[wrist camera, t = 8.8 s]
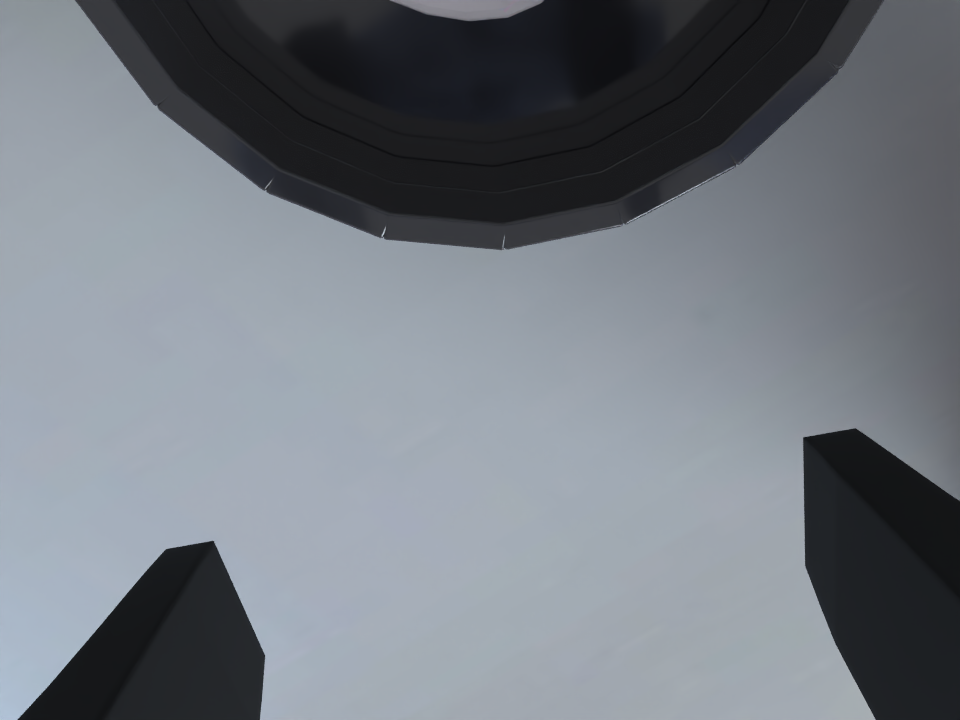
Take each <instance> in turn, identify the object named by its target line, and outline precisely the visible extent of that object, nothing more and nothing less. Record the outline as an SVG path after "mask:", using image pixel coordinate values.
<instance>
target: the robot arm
mask: <svg viewBox="0 0 960 720" xmlns="http://www.w3.org/2000/svg"><path fill="white" fill-rule="evenodd" d="M803 451H804V514H805V566H806V569H807V572H808V574H809V577H810V580H811V582H812V585H813V588H814V590H815V593H816V596H817V598H818V601H819V604H820V606H821V609H822V611H823V614H824V616H825V619H826V621H827V624H828V626H829V629H830V631H831V634H832V636H833V639H834V641H835V643H836V645H837V647H838V649H839V651H840V653H841V655H842V657H843V659H844V661H845V663H846V665H847V666H848V668H849V670H850V672H851V674H852V676H853V678H854V680H855V681H856V683H857V685H858V687H859V689H860V691H861V693H862V695H863V697H864V698H865V700H866V702H867V704H868V706H869V708H870V710H871V711H872V713H873V715H874V717H875V719H876V720H960V501H959V500H957V499H956V498H954V497H953V496H951V495H950V494H948V493H947V492H945V491H944V490H943V489H941V488H940V487H938V486H937V485H935V484H934V483H933V482H931V481H930V480H928V479H927V478H925V477H924V476H923V475H921V474H920V473H918V472H917V471H916V470H914V469H913V468H911V467H910V466H908V465H907V464H906V463H904V462H903V461H901V460H900V459H899V458H897V457H896V456H894V455H893V454H892V453H890V452H889V451H887V450H886V449H884V448H883V447H882V446H880V445H879V444H877V443H876V442H875V441H873V440H872V439H870V438H869V437H868V436H866V435H865V434H863V433H862V432H860V431H859V430H857V429H856V428H855V429H849V430H843V431H838V432H832V433H826V434H821V435H815V436H809V437H803ZM264 663H265V655H264V652H263V650H262V648H261V646H260V643H259V641H258V639H257V637H256V634H255V632H254V630H253V628H252V626H251V623H250V621H249V619H248V617H247V614H246V612H245V610H244V608H243V605H242V603H241V601H240V599H239V597H238V594H237V592H236V590H235V588H234V585H233V583H232V581H231V579H230V576H229V574H228V572H227V570H226V568H225V565H224V563H223V561H222V559H221V556H220V554H219V552H218V550H217V547H216V545H215V543H214V541H210V542H204V543H199V544H193V545H187V546H182V547H176V548H170V549H166V550H165V551H164V552H163V553H162V554H161V555H160V556H159V558H158V559H157V560H156V561H155V562H154V563H153V564H152V565H151V566H150V568H149V569H148V570H147V571H146V572H145V573H144V574H143V576H142V577H141V578H140V579H139V580H138V581H137V583H136V584H135V585H134V586H133V587H132V589H131V590H130V591H129V592H128V593H127V595H126V596H125V597H124V598H123V599H122V600H121V602H120V603H119V604H118V605H117V606H116V608H115V609H114V610H113V611H112V612H111V614H110V615H109V616H108V617H107V618H106V620H105V621H104V622H103V623H102V624H101V626H100V627H99V628H98V629H97V630H96V631H95V633H94V634H93V635H92V636H91V637H90V638H89V640H88V641H87V642H86V643H85V644H84V645H83V647H82V648H81V649H80V650H79V651H78V652H77V654H76V655H75V656H74V657H73V658H72V659H71V661H70V662H69V663H68V664H67V665H66V666H65V668H64V669H63V670H62V671H61V672H60V673H59V675H58V676H57V677H56V678H55V679H54V680H53V682H52V683H51V684H50V685H49V686H48V687H47V688H46V690H45V691H44V692H43V693H42V694H41V695H40V696H39V697H38V698H37V699H36V700H35V701H34V702H33V704H32V705H31V706H30V707H29V708H28V709H27V710H26V711H25V712H24V713H23V714H22V715H21V717H20V718H19V719H18V720H260V712H261V702H262V690H263V676H264Z"/></svg>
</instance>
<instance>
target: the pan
mask: <svg viewBox="0 0 960 720" xmlns="http://www.w3.org/2000/svg"><path fill="white" fill-rule="evenodd" d="M75 1H76V2H77V3H78V5H79V6H80V7H81V9H82V10H83V11H84V13H85V14H86V15H87V17H88V18H89V19H90V21H91V22H92V23H93V25H94V26H95V27H96V29H97V30H98V31H99V33H100V34H101V35H102V37H103V38H104V39H105V41H106V42H107V43H108V45H109V46H110V47H111V49H112V50H113V51H114V53H115V54H116V55H117V57H118V58H119V59H120V61H121V62H122V63H123V65H124V66H125V67H126V69H127V70H128V71H129V72H130V74H131V75H132V76H133V78H134V79H135V80H136V82H137V83H138V84H139V86H140V87H141V88H142V90H143V91H144V92H145V94H146V95H147V96H148V98H149V99H150V100H151V102H152V103H153V104H154V105H155V106H158V109H159V110H160V111H161V112H162V113H164V114H165V115H166V116H168V117H169V118H170V119H171V120H173V121H174V122H175V123H177V124H178V125H179V126H181V127H182V128H183V129H184V130H186V131H187V132H188V133H190V134H191V135H192V136H193V137H195V138H196V139H197V140H199V141H200V142H201V143H203V144H204V145H205V146H206V147H208V148H209V149H210V150H212V151H213V152H214V153H215V154H217V155H218V156H219V157H221V158H222V159H223V160H224V161H226V162H227V163H228V164H230V165H231V166H232V167H234V168H235V169H236V170H237V171H239V172H240V173H241V174H243V175H244V176H245V177H246V178H248V179H249V180H250V181H252V182H253V183H254V184H255V185H257V186H258V187H259V188H261V189H262V190H264V191H265V190H267V192H268V193H269V194H271V195H274V196H276V197H279V198H281V199H284V200H286V201H289V202H291V203H294V204H297V205H299V206H302V207H304V208H307V209H309V210H312V211H314V212H317V213H319V214H322V215H324V216H327V217H329V218H332V219H334V220H337V221H339V222H342V223H344V224H347V225H349V226H352V227H354V228H357V229H359V230H362V231H364V232H367V233H369V234H372V235H374V236H377V237H379V238H383V237H384V239H386V240H397V241H408V242H419V243H430V244H441V245H452V246H463V247H474V248H485V249H496V250H503V249H504V248H505V249H512V248H517V247H522V246H527V245H532V244H537V243H542V242H546V241H551V240H556V239H561V238H566V237H571V236H576V235H581V234H586V233H591V232H596V231H601V230H605V229H610V228H615V227H620V226H622V225H623V223H624V224H628V223H630V222H632V221H634V220H636V219H638V218H640V217H642V216H644V215H645V214H647V213H649V212H651V211H653V210H655V209H657V208H659V207H661V206H663V205H665V204H666V203H668V202H670V201H672V200H674V199H676V198H678V197H680V196H682V195H684V194H685V193H687V192H689V191H691V190H693V189H695V188H697V187H699V186H701V185H703V184H705V183H706V182H708V181H710V180H712V179H714V178H716V177H718V176H720V175H722V174H724V173H725V172H727V171H729V170H731V169H733V168H735V167H736V164H737V165H739V164H741V163H742V162H743V161H744V160H745V159H746V158H747V157H748V156H749V155H750V154H751V153H752V152H754V151H755V150H756V149H757V148H758V147H759V146H760V145H761V144H762V143H763V142H764V141H765V140H766V139H767V138H768V137H770V136H771V135H772V134H773V133H774V132H775V131H776V130H777V129H778V128H779V127H780V126H781V125H782V124H783V123H785V122H786V121H787V120H788V119H789V118H790V117H791V116H792V115H793V114H794V113H795V112H796V111H797V110H798V109H799V108H801V107H802V106H803V105H804V104H805V103H806V102H807V101H808V100H809V99H810V98H811V97H812V96H813V95H814V94H815V93H817V92H818V91H819V90H820V89H821V88H822V87H823V86H824V85H825V84H826V83H827V82H828V81H829V80H830V79H831V78H833V77H834V76H835V75H836V74H837V73H838V69H840V68H842V66H843V65H844V63H845V62H846V60H847V58H848V57H849V55H850V54H851V52H852V50H853V49H854V47H855V46H856V44H857V43H858V41H859V39H860V38H861V36H862V35H863V33H864V31H865V30H866V28H867V27H868V25H869V23H870V22H871V20H872V19H873V17H874V16H875V14H876V12H877V11H878V9H879V8H880V6H881V4H882V3H883V1H884V0H544V1H543V2H542V3H541V4H538V5H536V6H534V7H531V8H529V9H527V10H524V11H522V12H520V13H517V14H515V15H513V16H510V17H508V18H498V19H488V20H477V21H465V20H458V19H452V18H446V17H439V16H433V15H427V14H424V13H421V12H419V11H416V10H414V9H411V8H409V7H406V6H403V5H401V4H398V3H396V2H393V1H390V0H75Z"/></svg>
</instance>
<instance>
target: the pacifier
mask: <svg viewBox="0 0 960 720" xmlns="http://www.w3.org/2000/svg"><path fill="white" fill-rule="evenodd" d="M390 1H393V2H396V3H398V4H401V5H403V6H406V7H409V8H411V9H414V10H416V11H419V12H421V13H424V14H427V15H433V16H439V17H446V18H452V19H458V20H465V21H477V20H488V19H498V18H508V17H510V16H513V15H515V14H517V13H520V12H522V11H524V10H527V9H529V8H531V7H534V6H536V5H538V4H541V3H542V2H543V1H544V0H390Z"/></svg>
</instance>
